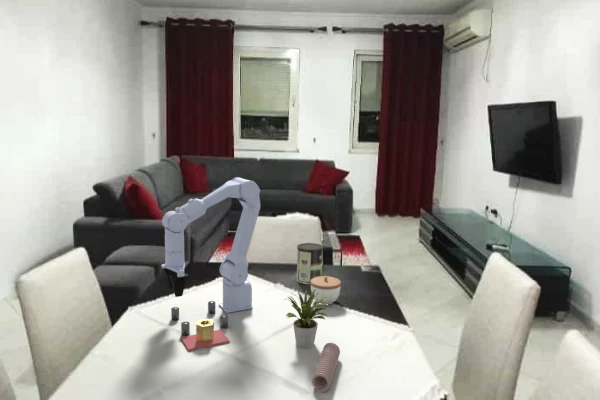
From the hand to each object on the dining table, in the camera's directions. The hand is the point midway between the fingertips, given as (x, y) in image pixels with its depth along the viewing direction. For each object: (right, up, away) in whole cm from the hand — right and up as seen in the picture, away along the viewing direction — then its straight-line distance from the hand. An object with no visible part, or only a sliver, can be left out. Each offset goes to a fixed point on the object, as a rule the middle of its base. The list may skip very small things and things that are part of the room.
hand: (175, 291), depth 149 cm
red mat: (+12, -12, -12) cm, 20 cm away
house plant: (+40, -13, -13) cm, 44 cm away
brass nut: (+12, -11, -12) cm, 20 cm away
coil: (+46, -16, -27) cm, 55 cm away
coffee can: (+43, -4, +42) cm, 60 cm away
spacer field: (+7, -10, 0) cm, 12 cm away
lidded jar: (+48, -8, +20) cm, 52 cm away
